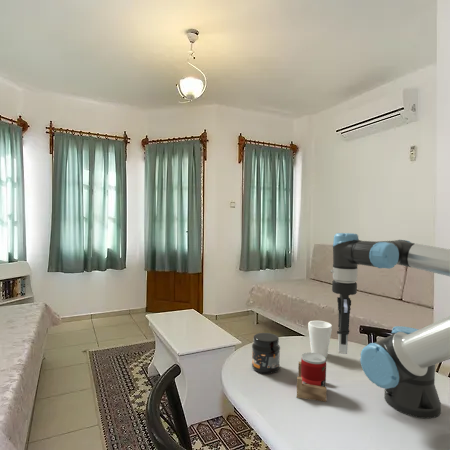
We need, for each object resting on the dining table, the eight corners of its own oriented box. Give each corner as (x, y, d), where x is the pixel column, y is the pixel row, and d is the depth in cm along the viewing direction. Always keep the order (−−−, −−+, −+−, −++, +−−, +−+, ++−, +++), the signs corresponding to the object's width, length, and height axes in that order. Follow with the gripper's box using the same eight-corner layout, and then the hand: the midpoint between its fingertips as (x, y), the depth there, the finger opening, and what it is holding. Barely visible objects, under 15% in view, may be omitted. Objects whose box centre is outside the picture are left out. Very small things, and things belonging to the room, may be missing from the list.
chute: (324, 381, 114) (325, 364, 114) (326, 401, 101) (326, 382, 101) (298, 378, 116) (298, 361, 116) (296, 397, 104) (297, 378, 104)
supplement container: (248, 363, 128) (248, 333, 127) (273, 361, 130) (273, 331, 130) (256, 376, 117) (257, 343, 117) (284, 373, 120) (284, 341, 120)
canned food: (326, 397, 104) (327, 363, 104) (301, 394, 106) (301, 360, 105) (324, 385, 112) (325, 353, 111) (300, 382, 113) (301, 351, 113)
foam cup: (303, 351, 140) (304, 321, 139) (322, 349, 142) (322, 319, 142) (316, 361, 131) (316, 328, 130) (335, 358, 133) (336, 326, 133)
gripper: (331, 276, 113) (329, 344, 113) (333, 283, 100) (331, 359, 101) (354, 277, 111) (352, 346, 112) (359, 285, 98) (357, 362, 99)
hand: (342, 352), depth 106 cm, fingers closed
